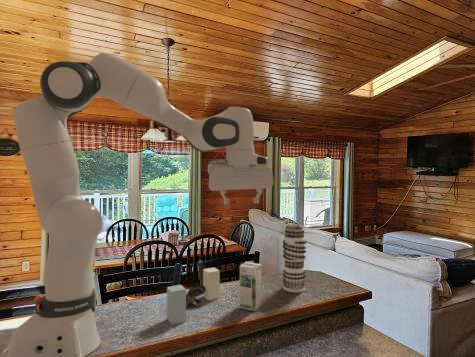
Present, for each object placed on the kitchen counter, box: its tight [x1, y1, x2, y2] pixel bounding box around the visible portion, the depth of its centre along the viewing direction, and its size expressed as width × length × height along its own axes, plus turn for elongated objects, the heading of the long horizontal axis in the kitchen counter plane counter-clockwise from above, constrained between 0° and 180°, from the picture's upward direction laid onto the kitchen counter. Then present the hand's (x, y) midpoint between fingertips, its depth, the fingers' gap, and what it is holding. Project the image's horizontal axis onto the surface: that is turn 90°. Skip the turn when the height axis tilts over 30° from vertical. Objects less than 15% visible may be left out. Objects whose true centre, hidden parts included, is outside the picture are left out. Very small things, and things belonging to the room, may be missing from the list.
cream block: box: [202, 267, 221, 301], centre depth 117 cm, size 4×4×10 cm
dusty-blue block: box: [166, 284, 187, 326], centre depth 99 cm, size 4×4×10 cm
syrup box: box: [239, 261, 262, 312], centre depth 108 cm, size 6×6×14 cm
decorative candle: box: [282, 223, 307, 293], centre depth 125 cm, size 9×9×25 cm
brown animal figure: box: [186, 284, 206, 308], centre depth 110 cm, size 8×7×9 cm
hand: (241, 203), depth 101 cm, fingers open, 8 cm apart
